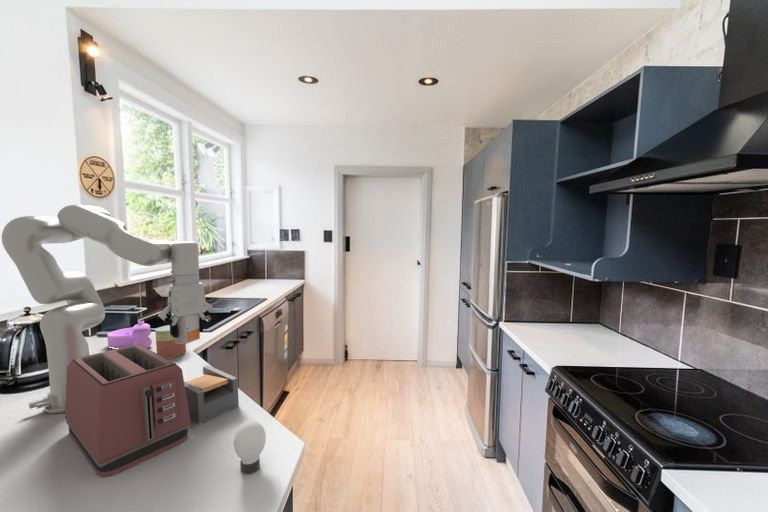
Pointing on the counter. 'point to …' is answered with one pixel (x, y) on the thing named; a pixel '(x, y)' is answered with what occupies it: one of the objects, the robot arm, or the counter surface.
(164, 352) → the canned food
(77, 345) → the robot arm
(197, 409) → the grey open box
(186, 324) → the skincare box
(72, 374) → the toaster
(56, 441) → the counter surface
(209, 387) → the rocker switch
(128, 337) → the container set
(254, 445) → the light bulb
